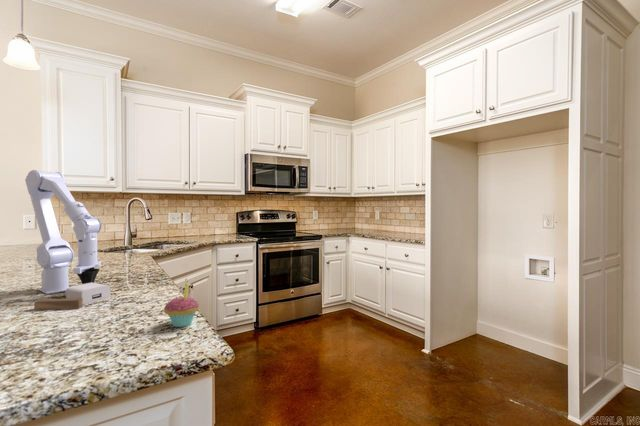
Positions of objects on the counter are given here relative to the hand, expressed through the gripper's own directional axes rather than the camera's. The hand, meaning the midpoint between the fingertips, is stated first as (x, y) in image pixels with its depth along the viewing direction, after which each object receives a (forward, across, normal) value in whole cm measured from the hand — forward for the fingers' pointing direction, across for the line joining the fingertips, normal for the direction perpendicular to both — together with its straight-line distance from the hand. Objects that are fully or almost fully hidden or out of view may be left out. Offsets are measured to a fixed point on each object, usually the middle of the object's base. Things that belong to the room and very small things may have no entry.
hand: (88, 289), depth 120 cm
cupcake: (+2, -37, -40) cm, 54 cm away
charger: (+2, -6, -2) cm, 7 cm away
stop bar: (+1, -17, 0) cm, 17 cm away
